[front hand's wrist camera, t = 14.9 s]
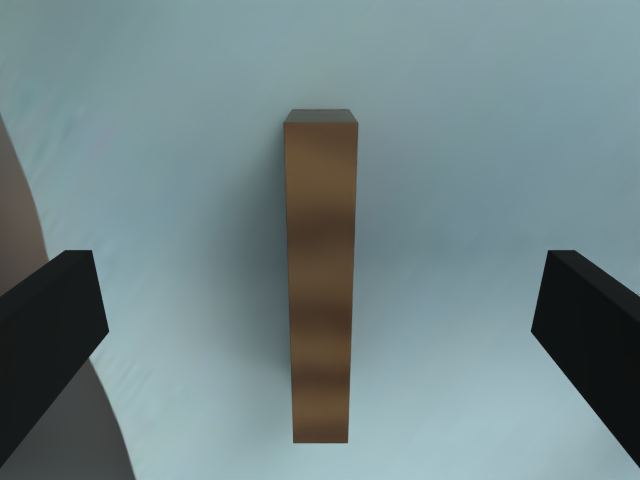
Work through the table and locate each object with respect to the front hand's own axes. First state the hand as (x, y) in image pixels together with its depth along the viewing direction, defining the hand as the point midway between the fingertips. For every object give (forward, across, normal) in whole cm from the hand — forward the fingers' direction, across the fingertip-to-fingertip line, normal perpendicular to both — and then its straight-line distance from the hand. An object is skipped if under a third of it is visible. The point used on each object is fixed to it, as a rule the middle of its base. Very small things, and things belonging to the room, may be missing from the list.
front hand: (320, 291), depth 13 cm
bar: (+24, 0, -10) cm, 26 cm away
